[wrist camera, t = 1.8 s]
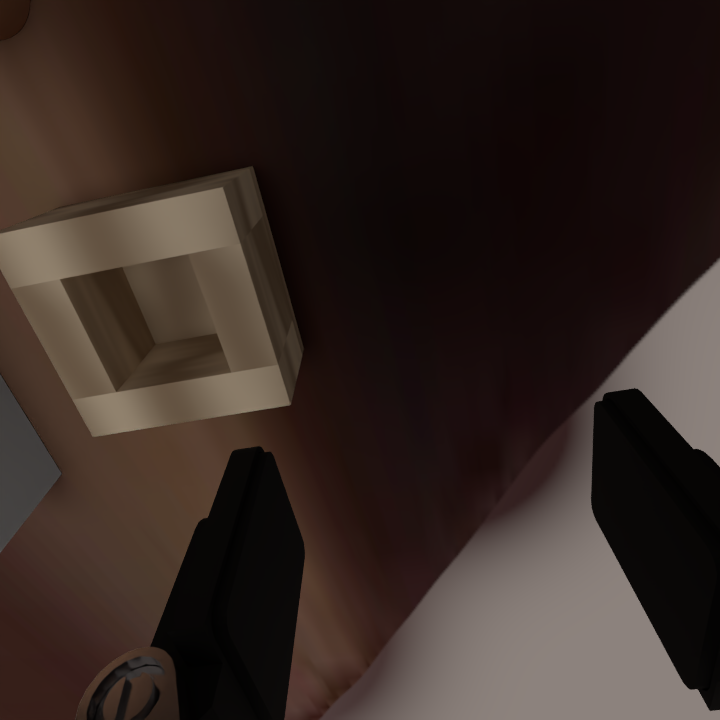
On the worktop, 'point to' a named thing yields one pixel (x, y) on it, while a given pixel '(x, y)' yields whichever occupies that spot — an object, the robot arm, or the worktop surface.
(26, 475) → the backstop wall
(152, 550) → the worktop surface
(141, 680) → the robot arm
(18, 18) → the dowel
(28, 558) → the worktop surface
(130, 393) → the socket block
